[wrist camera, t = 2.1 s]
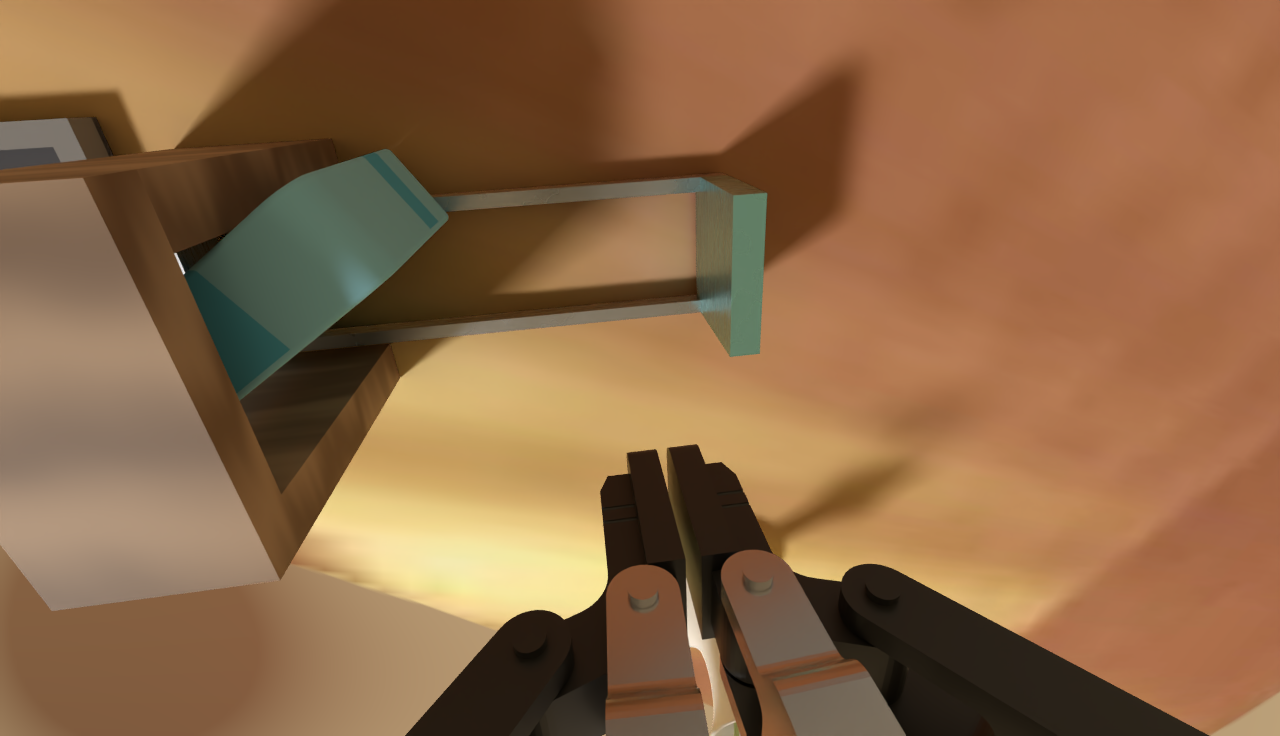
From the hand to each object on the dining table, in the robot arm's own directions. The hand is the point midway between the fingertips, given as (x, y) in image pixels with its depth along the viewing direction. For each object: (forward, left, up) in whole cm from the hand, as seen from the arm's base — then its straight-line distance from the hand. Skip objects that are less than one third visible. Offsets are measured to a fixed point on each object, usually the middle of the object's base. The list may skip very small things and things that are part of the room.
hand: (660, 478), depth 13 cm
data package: (-2, -14, -23) cm, 27 cm away
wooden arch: (0, -18, -23) cm, 29 cm away
